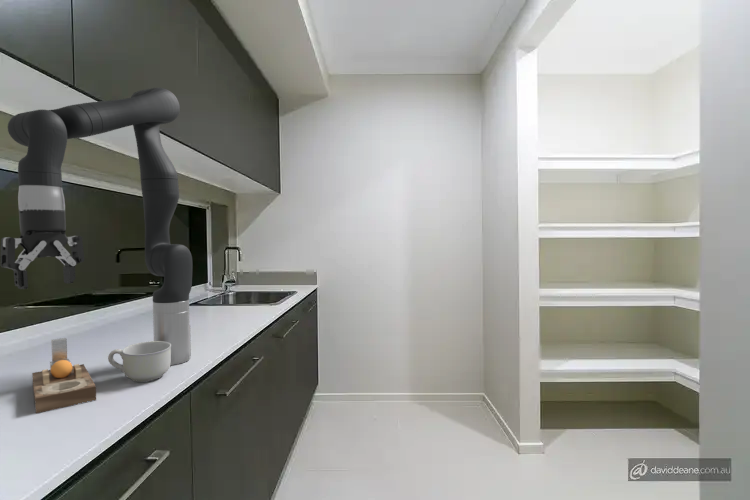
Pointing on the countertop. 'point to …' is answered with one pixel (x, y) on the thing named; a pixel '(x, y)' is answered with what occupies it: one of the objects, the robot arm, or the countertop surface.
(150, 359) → the teacup
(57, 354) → the grey upright block
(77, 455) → the countertop surface
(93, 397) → the wooden holder
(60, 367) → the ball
